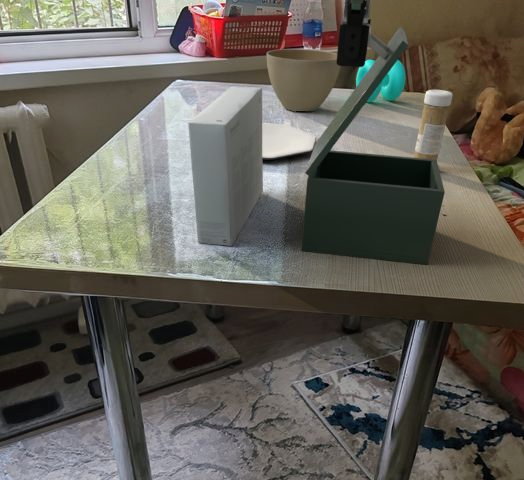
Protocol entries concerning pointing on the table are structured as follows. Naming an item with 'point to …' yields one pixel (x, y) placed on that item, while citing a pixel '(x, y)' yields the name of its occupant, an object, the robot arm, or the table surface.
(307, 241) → the trash bin
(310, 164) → the bin lid
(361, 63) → the robot arm
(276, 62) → the flower pot
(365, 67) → the turquoise yoyo
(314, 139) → the plate
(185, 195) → the table surface
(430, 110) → the sprinkles bottle
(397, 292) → the table surface
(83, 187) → the table surface
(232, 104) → the skincare box
